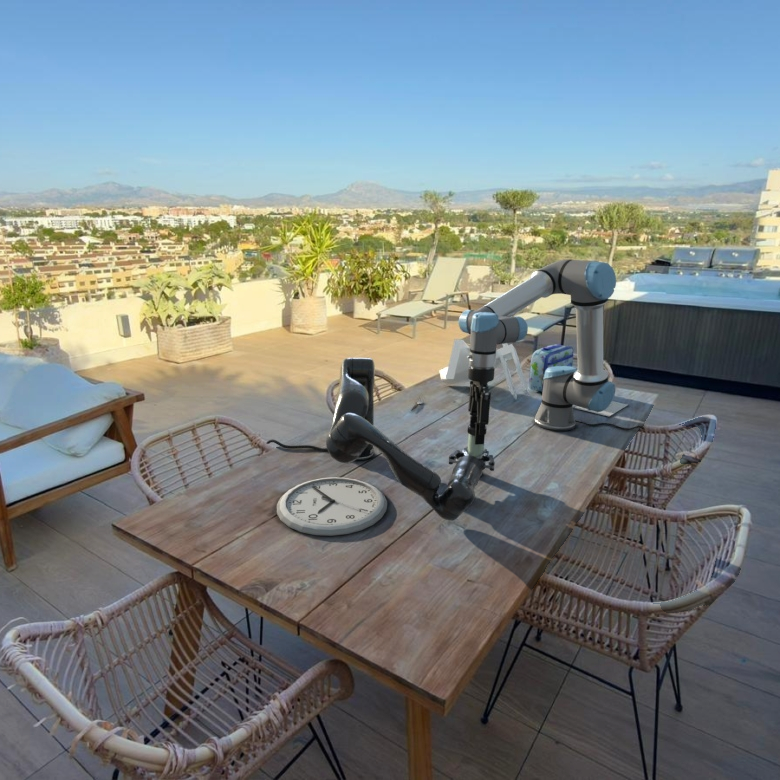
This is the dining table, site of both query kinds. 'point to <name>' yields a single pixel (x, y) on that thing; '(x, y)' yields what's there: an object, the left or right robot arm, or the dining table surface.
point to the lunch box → (548, 363)
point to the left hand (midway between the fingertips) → (476, 450)
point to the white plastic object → (460, 365)
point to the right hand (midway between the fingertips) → (476, 439)
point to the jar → (474, 447)
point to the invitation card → (607, 409)
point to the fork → (418, 403)
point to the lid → (473, 429)
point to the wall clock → (331, 506)
